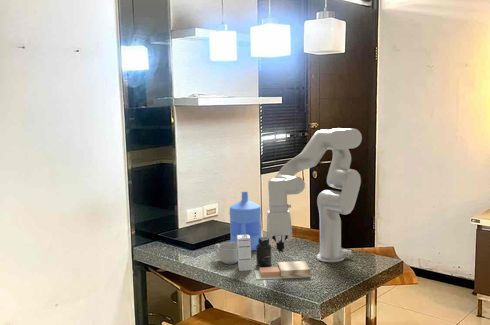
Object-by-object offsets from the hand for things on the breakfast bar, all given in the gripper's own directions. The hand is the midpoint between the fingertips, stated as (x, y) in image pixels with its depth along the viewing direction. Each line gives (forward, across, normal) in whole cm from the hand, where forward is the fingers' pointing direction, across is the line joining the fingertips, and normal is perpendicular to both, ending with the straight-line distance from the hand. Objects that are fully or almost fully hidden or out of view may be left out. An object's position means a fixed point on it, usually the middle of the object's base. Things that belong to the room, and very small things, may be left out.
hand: (280, 250), depth 207 cm
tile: (+9, +5, +1) cm, 11 cm away
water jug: (+10, +12, -40) cm, 43 cm away
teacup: (+10, +22, -19) cm, 31 cm away
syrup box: (+10, +15, -8) cm, 20 cm away
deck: (+10, -5, +1) cm, 11 cm away
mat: (+10, 0, +1) cm, 10 cm away
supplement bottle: (+10, +6, -12) cm, 17 cm away
